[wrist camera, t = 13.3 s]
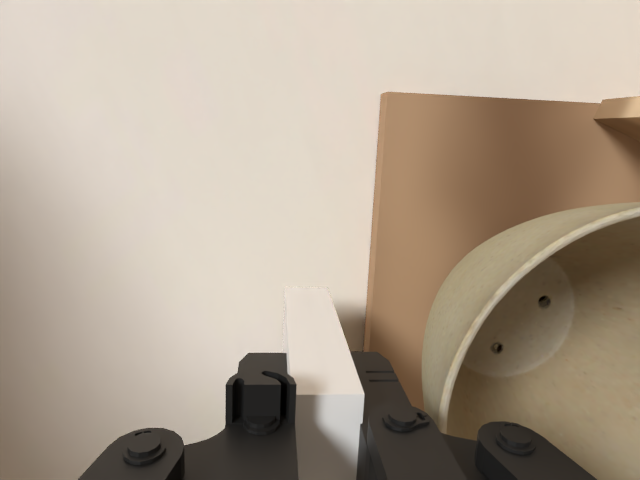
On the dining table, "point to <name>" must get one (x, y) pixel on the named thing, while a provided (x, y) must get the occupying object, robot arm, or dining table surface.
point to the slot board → (477, 193)
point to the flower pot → (545, 337)
